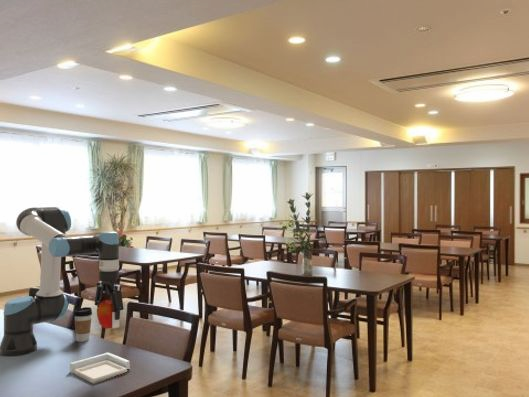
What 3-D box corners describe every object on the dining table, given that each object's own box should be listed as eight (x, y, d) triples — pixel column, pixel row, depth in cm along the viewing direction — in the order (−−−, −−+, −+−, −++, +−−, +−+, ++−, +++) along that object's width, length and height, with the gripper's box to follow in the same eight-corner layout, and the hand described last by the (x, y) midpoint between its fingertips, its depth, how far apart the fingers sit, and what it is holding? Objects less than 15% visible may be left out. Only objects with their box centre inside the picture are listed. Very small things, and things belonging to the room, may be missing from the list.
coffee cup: (95, 339, 225) (96, 308, 225) (80, 343, 217) (80, 312, 218) (84, 336, 229) (85, 306, 229) (69, 340, 222) (70, 309, 222)
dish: (74, 374, 179) (74, 369, 179) (107, 364, 190) (107, 360, 190) (93, 383, 170) (93, 378, 170) (126, 372, 181) (126, 368, 181)
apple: (91, 328, 184) (91, 299, 184) (109, 323, 192) (110, 295, 192) (107, 332, 179) (107, 301, 179) (125, 327, 187) (125, 297, 187)
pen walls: (69, 371, 182) (69, 362, 182) (107, 360, 195) (108, 352, 195) (90, 382, 172) (90, 372, 172) (129, 369, 185) (129, 360, 185)
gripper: (85, 268, 189) (85, 322, 189) (116, 273, 176) (116, 332, 175) (101, 266, 195) (101, 319, 195) (133, 271, 181) (132, 328, 181)
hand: (108, 325), depth 185 cm, fingers closed on apple, 9 cm apart
